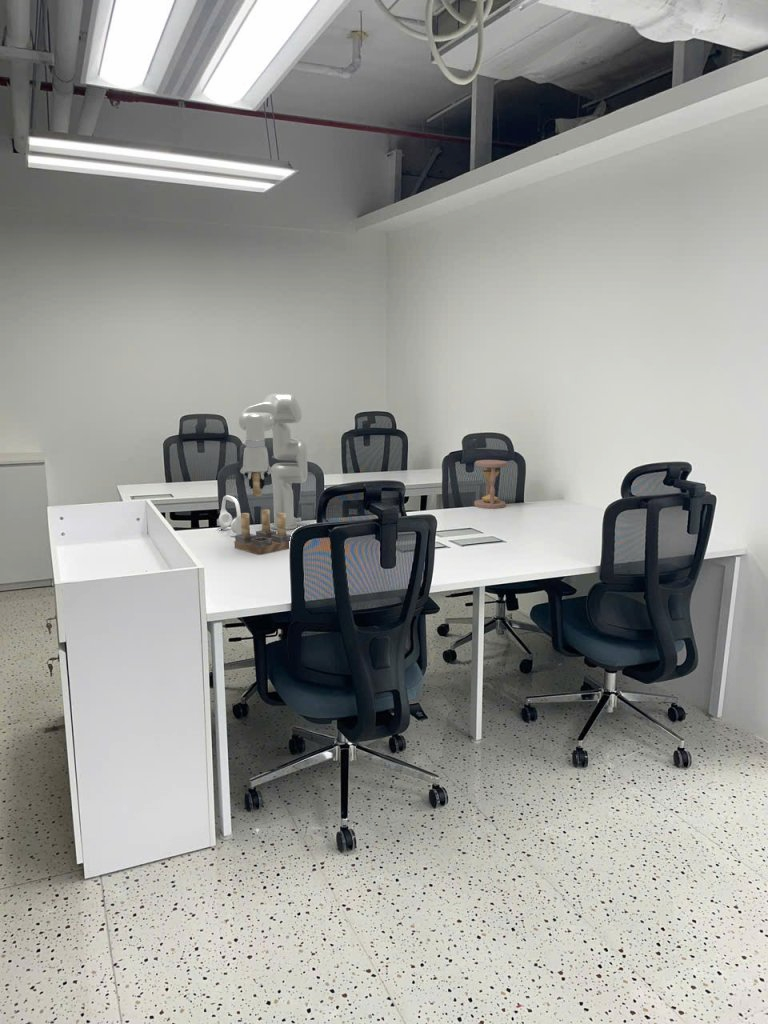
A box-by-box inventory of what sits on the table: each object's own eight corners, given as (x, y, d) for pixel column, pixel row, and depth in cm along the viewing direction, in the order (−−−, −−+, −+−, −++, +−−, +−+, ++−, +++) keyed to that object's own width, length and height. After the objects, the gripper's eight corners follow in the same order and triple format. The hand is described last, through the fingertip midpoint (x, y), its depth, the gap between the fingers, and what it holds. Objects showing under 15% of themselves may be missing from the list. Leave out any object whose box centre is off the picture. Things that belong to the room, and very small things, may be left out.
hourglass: (505, 509, 414) (506, 464, 409) (473, 508, 417) (474, 463, 412) (505, 503, 431) (507, 460, 426) (475, 502, 434) (476, 459, 429)
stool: (267, 540, 338) (266, 508, 336) (293, 547, 326) (292, 513, 323) (234, 547, 326) (233, 513, 323) (260, 554, 314) (259, 519, 311)
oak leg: (251, 495, 314) (250, 467, 312) (258, 494, 317) (257, 466, 314) (255, 496, 312) (255, 467, 310) (263, 495, 314) (262, 467, 312)
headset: (247, 536, 348) (245, 498, 344) (232, 538, 344) (231, 499, 340) (230, 528, 364) (229, 492, 361) (216, 530, 360) (214, 493, 357)
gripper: (233, 445, 307) (235, 489, 310) (274, 445, 306) (275, 489, 310) (237, 443, 314) (239, 486, 318) (277, 443, 314) (278, 487, 317)
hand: (256, 487), depth 314 cm, fingers closed on oak leg, 3 cm apart
